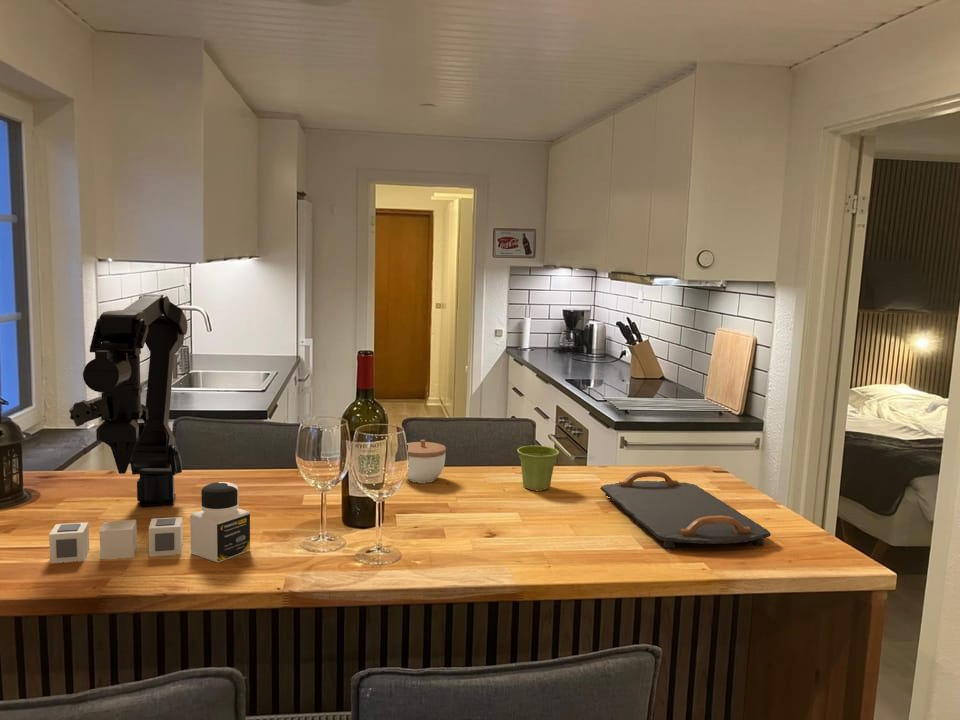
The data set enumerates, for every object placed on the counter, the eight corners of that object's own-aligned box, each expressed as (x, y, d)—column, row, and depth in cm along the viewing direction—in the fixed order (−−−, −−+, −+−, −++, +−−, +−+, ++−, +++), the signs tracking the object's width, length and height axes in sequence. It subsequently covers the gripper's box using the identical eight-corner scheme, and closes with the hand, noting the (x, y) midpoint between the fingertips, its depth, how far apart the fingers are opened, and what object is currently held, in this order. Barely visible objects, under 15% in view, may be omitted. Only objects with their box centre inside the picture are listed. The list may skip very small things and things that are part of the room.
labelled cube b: (89, 550, 137) (88, 521, 136) (83, 561, 132) (82, 531, 131) (57, 552, 135) (55, 523, 135) (50, 564, 130) (48, 533, 130)
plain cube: (136, 547, 139) (136, 519, 138) (133, 558, 134) (132, 529, 134) (105, 549, 138) (104, 521, 137) (100, 560, 133) (99, 531, 132)
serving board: (781, 553, 148) (784, 521, 147) (664, 558, 143) (666, 525, 142) (687, 491, 185) (689, 465, 184) (592, 494, 181) (593, 467, 180)
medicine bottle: (217, 563, 133) (217, 493, 131) (189, 554, 137) (188, 485, 135) (251, 551, 139) (250, 484, 137) (223, 542, 143) (222, 476, 141)
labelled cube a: (182, 544, 141) (182, 515, 140) (180, 555, 136) (180, 525, 135) (152, 546, 140) (151, 517, 139) (149, 557, 135) (148, 527, 134)
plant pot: (558, 494, 178) (560, 456, 177) (516, 492, 178) (518, 454, 177) (555, 482, 187) (557, 446, 186) (515, 480, 187) (516, 444, 186)
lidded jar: (403, 472, 192) (404, 433, 190) (448, 474, 191) (449, 436, 189) (394, 484, 181) (395, 444, 180) (441, 487, 180) (442, 447, 179)
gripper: (83, 375, 148) (85, 457, 150) (61, 392, 131) (64, 485, 133) (147, 374, 151) (149, 455, 153) (134, 391, 134) (136, 482, 136)
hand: (124, 468), depth 144 cm, fingers open, 6 cm apart
